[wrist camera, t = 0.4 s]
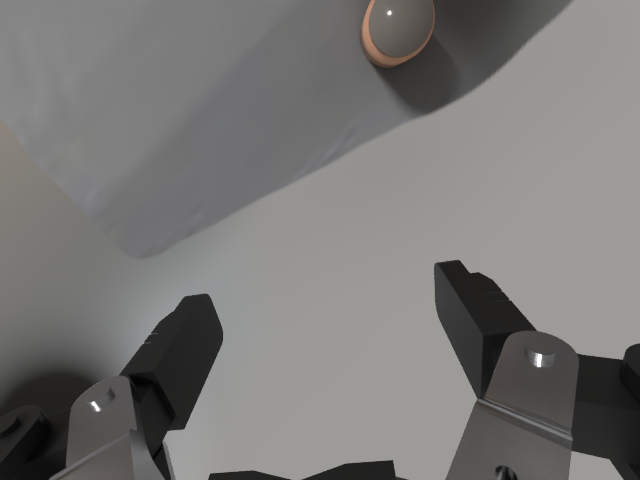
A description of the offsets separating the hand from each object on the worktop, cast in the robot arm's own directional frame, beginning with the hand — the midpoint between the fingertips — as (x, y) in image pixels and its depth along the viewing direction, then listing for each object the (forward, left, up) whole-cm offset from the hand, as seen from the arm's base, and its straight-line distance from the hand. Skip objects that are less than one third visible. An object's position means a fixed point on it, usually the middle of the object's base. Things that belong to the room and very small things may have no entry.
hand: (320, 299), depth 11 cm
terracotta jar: (-11, +8, -27) cm, 30 cm away
